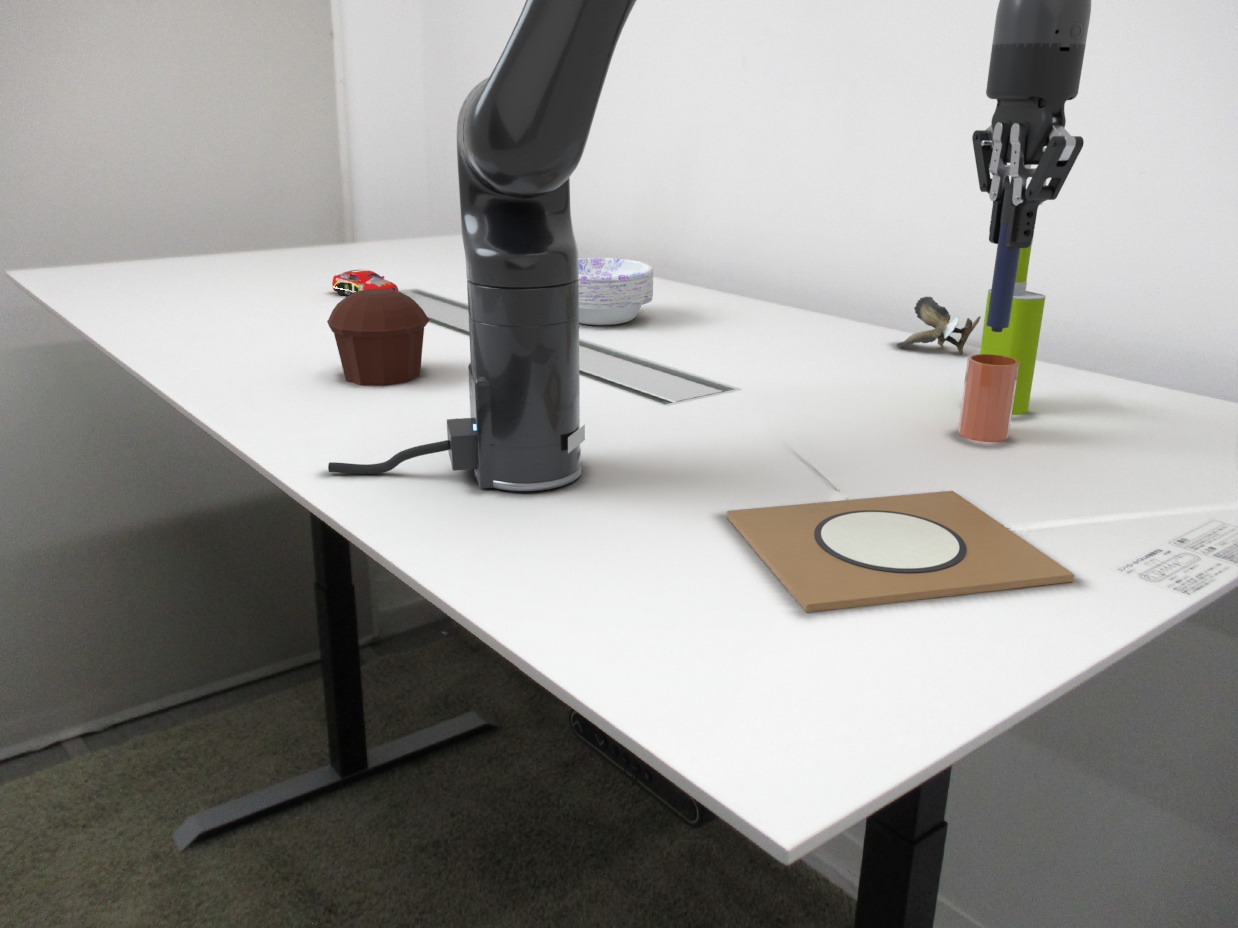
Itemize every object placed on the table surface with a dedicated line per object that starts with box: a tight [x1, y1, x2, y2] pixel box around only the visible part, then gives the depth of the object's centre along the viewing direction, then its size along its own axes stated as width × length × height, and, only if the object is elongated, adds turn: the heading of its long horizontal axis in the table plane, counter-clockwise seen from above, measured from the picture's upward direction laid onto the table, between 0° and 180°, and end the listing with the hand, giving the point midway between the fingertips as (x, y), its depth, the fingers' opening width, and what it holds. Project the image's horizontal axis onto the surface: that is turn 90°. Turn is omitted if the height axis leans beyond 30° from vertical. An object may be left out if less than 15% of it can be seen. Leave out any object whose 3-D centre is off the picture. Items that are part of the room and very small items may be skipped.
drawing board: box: [726, 490, 1075, 613], centre depth 75 cm, size 20×16×1 cm
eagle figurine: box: [896, 296, 981, 356], centre depth 132 cm, size 8×7×9 cm
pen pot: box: [957, 353, 1019, 443], centre depth 98 cm, size 5×5×8 cm
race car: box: [331, 269, 399, 296], centre depth 164 cm, size 13×5×4 cm, turn 50°
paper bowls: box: [579, 257, 654, 326], centre depth 148 cm, size 15×15×8 cm
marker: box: [986, 188, 1020, 332], centre depth 93 cm, size 2×2×13 cm
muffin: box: [326, 288, 430, 386], centre depth 118 cm, size 12×11×10 cm
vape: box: [979, 238, 1046, 416], centre depth 104 cm, size 4×6×20 cm, turn 27°
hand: (1009, 244), depth 92 cm, fingers closed on marker, 2 cm apart
